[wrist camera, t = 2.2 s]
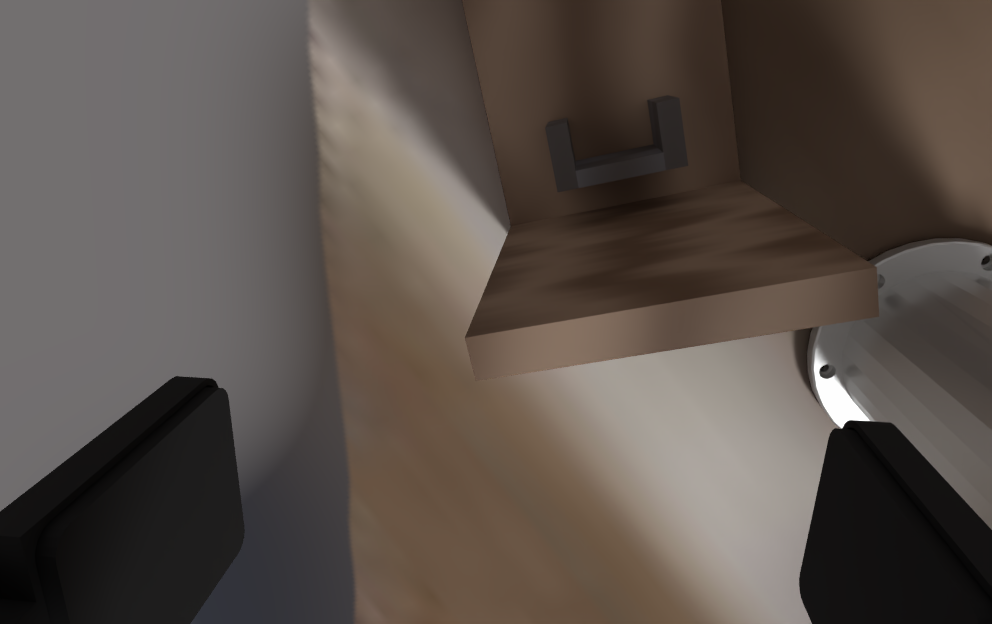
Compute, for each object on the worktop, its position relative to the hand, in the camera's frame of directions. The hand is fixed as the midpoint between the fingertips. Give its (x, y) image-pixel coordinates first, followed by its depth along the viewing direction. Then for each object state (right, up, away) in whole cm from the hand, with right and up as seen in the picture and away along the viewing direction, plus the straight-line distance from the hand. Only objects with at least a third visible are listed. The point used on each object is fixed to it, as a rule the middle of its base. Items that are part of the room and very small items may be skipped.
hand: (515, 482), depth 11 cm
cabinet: (+4, +18, +24) cm, 30 cm away
